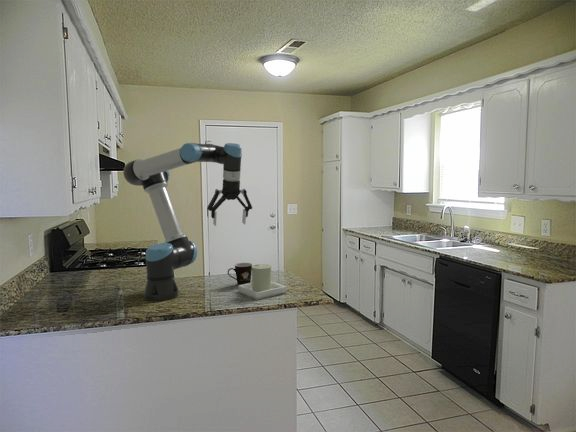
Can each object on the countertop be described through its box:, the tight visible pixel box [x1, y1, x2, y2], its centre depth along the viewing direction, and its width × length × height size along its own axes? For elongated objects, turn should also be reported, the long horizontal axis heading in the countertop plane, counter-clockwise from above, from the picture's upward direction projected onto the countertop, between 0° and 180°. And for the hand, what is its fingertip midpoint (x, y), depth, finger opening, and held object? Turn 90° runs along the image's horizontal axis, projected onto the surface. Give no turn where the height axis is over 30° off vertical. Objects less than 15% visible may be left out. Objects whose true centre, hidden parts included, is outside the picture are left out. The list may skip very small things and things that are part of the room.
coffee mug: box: [227, 262, 253, 286], centre depth 202 cm, size 12×9×10 cm
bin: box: [237, 280, 287, 301], centre depth 189 cm, size 16×16×3 cm
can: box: [251, 263, 272, 292], centre depth 188 cm, size 9×9×12 cm
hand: (229, 224), depth 187 cm, fingers open, 13 cm apart
